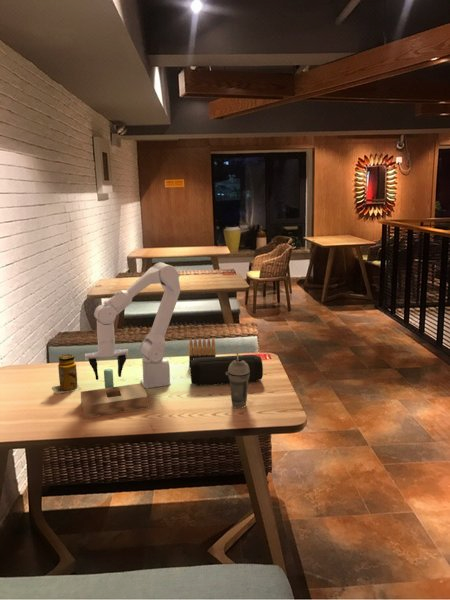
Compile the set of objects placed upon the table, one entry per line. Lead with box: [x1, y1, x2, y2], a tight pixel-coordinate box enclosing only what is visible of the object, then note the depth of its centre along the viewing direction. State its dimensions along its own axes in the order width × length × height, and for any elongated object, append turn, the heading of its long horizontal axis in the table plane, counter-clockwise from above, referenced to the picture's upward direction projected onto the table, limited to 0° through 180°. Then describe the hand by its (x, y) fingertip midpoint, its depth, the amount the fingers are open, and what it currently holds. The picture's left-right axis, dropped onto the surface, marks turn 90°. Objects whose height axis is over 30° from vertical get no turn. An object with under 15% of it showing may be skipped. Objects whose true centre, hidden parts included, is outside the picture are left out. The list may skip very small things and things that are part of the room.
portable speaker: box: [189, 354, 264, 386], centre depth 180 cm, size 26×10×10 cm, turn 98°
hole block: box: [80, 382, 149, 419], centre depth 162 cm, size 20×12×4 cm, turn 110°
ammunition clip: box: [188, 337, 217, 369], centre depth 196 cm, size 11×2×12 cm, turn 92°
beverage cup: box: [228, 345, 250, 409], centre depth 159 cm, size 7×7×20 cm
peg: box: [103, 368, 115, 388], centre depth 172 cm, size 3×3×8 cm
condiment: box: [51, 353, 82, 395], centre depth 176 cm, size 7×8×12 cm
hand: (108, 377), depth 172 cm, fingers open, 7 cm apart
